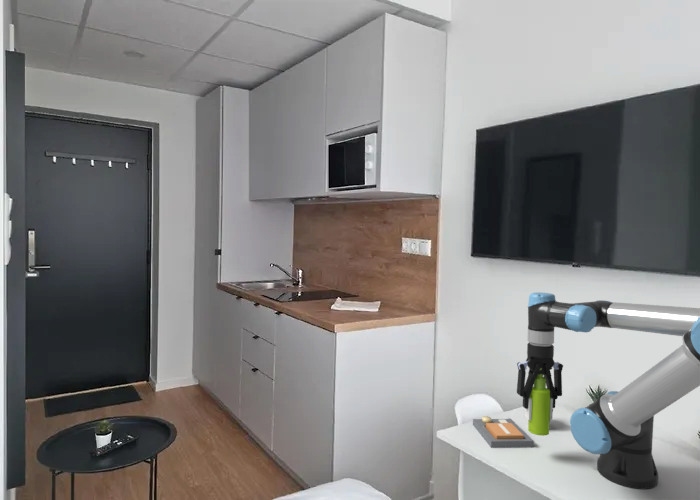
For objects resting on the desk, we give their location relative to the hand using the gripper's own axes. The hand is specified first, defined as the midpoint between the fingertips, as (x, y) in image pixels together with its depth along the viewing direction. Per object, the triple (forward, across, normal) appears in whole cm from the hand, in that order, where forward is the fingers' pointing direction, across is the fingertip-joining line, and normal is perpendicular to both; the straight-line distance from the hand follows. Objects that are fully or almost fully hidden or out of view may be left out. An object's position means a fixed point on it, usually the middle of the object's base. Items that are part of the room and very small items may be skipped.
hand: (538, 418), depth 146 cm
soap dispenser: (+4, 0, 0) cm, 4 cm away
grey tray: (+12, +5, -16) cm, 20 cm away
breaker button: (+12, +5, -13) cm, 19 cm away
